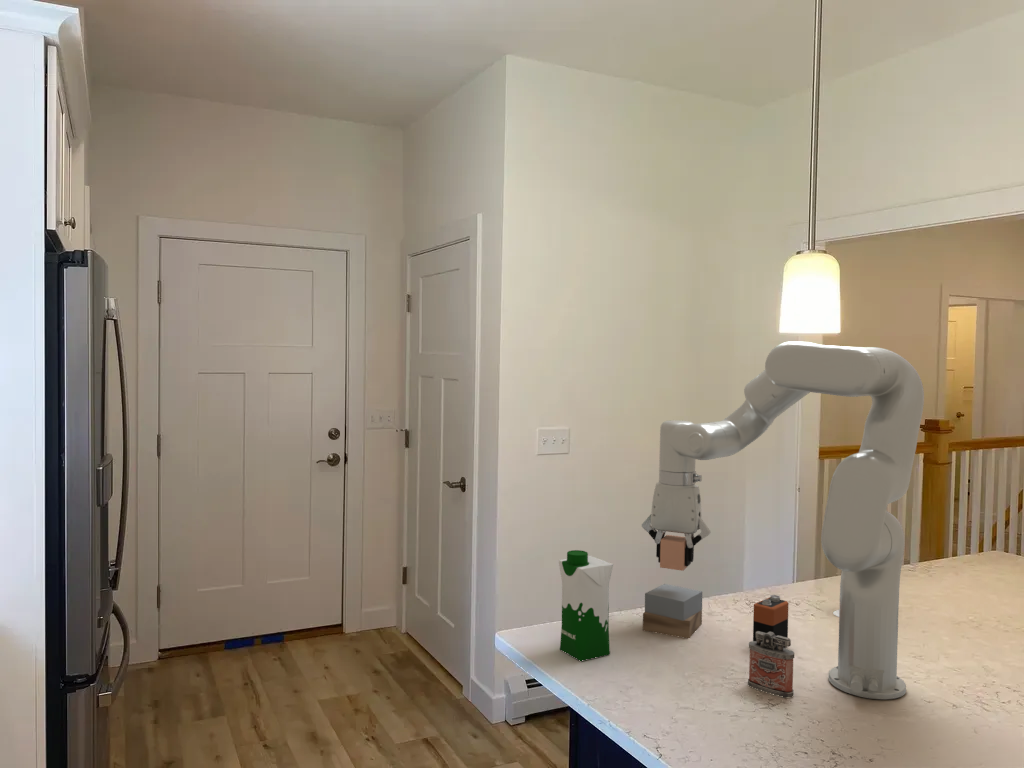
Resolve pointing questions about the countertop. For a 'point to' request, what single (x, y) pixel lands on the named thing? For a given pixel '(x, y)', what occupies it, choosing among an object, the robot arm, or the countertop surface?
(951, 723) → the countertop surface
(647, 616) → the tower base
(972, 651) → the countertop surface
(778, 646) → the lighter
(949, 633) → the countertop surface
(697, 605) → the tower top
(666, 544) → the pillar block
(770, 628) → the battery
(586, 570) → the milk carton
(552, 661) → the countertop surface
